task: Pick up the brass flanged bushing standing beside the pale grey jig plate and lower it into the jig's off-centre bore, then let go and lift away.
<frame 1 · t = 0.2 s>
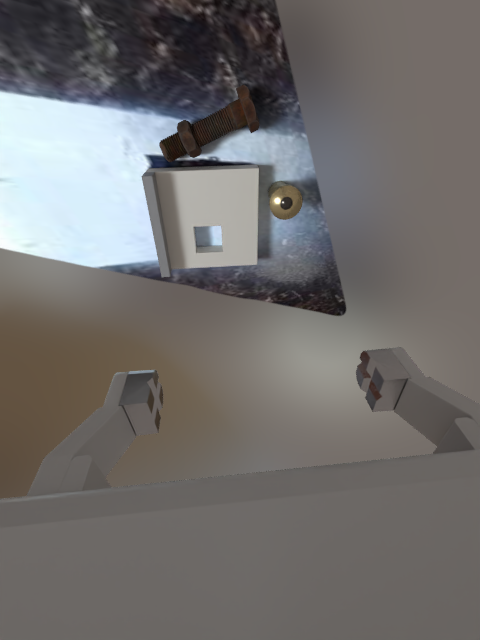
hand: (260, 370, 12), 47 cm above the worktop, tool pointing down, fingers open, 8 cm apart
jig: (207, 217, 55), on the worktop
bushing: (278, 191, 53), on the worktop
bolt: (207, 127, 47), on the worktop
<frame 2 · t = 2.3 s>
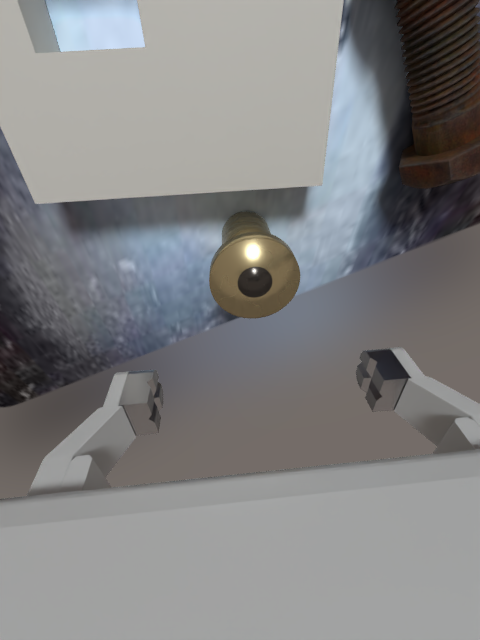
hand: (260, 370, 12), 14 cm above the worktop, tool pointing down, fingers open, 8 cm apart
bushing: (245, 235, 23), on the worktop
bolt: (411, 21, 16), on the worktop
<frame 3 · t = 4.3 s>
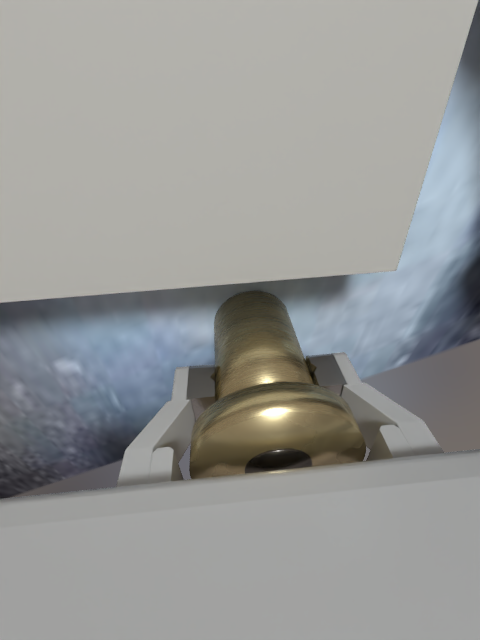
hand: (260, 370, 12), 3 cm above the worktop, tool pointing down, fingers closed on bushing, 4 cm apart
bushing: (251, 323, 14), on the worktop, touching gripper
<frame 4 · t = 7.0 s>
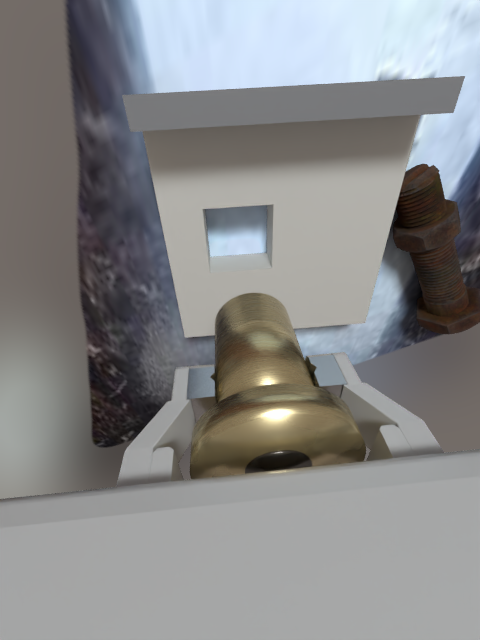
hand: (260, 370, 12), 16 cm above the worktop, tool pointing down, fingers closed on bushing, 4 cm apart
jig: (272, 224, 25), on the worktop
bushing: (251, 324, 14), point 13 cm above the worktop, touching gripper
bolt: (418, 242, 27), on the worktop
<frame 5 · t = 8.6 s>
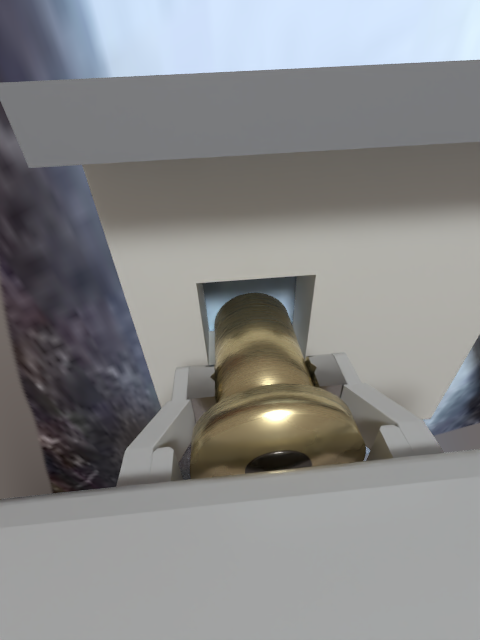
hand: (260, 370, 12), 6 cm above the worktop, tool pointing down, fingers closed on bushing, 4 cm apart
jig: (304, 288, 16), on the worktop
bushing: (251, 324, 14), point 2 cm above the worktop, touching gripper
when the fingers open (5 cm above the worktop, at t = 9.6 s): bushing stays where it is, resting on jig.
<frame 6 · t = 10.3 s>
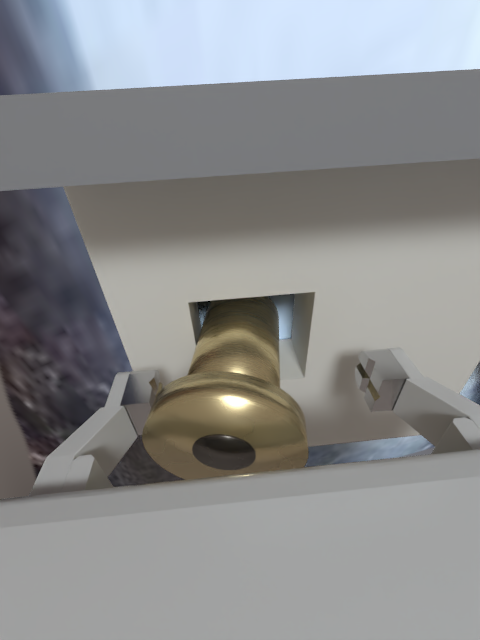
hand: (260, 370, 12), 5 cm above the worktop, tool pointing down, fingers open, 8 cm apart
jig: (303, 301, 16), on the worktop
bushing: (242, 318, 15), point 1 cm above the worktop, tilted 10°, touching gripper, jig
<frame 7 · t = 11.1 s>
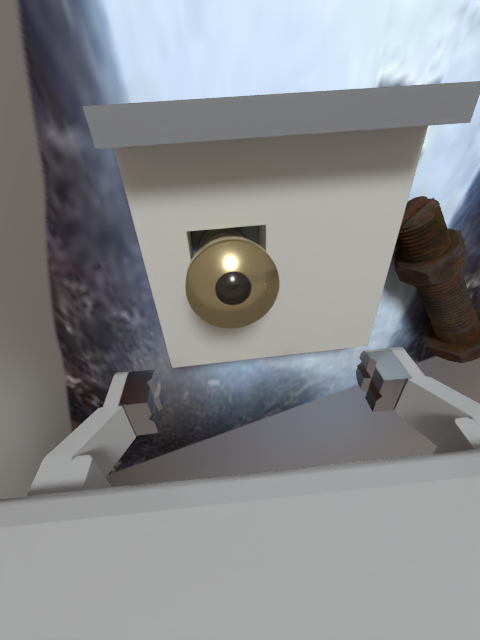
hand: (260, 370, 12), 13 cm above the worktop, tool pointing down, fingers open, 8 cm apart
jig: (265, 243, 23), on the worktop
bushing: (223, 249, 22), resting in jig, tilted 6°
bolt: (422, 269, 26), on the worktop
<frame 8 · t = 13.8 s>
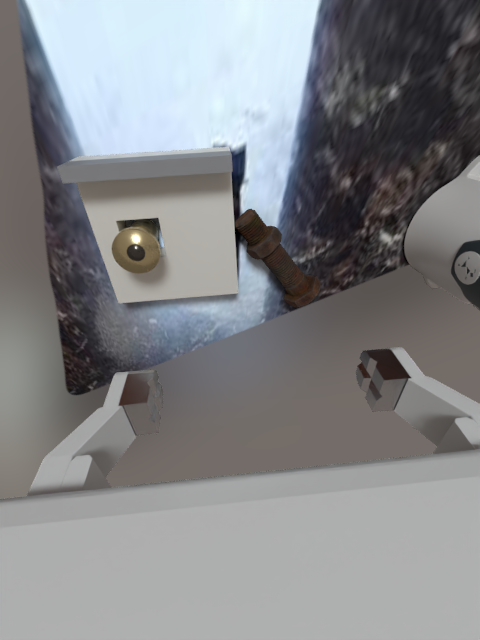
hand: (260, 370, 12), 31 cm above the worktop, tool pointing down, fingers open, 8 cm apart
jig: (169, 229, 39), on the worktop
bushing: (144, 231, 39), resting in jig
bolt: (274, 250, 43), on the worktop
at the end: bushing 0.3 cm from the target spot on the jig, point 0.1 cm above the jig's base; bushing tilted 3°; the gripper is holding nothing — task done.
